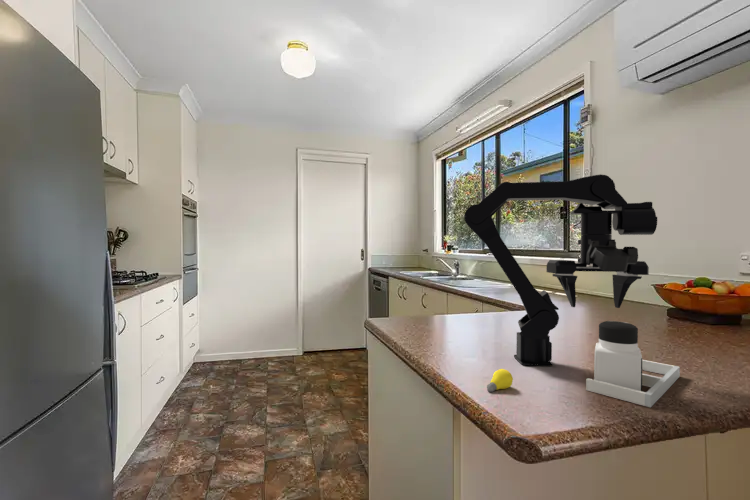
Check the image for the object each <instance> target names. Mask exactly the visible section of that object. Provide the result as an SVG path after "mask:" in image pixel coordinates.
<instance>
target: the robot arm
mask: <svg viewBox="0 0 750 500" xmlns="http://www.w3.org/2000/svg"><path fill="white" fill-rule="evenodd" d="M553 200H554V201H562V200H563V201H567V202H568V201H569V202H571V203H576V204H577V205H576V207H575V208H574V209H573V210H572V211H570V215H571V216H572V215H573V216H576V215H577V216H579V215H580V239H578V240H577V245H580V258H577V262H576V261H575V260H568V259H563V260H562V259H549V261H547V263H546V273H550V274H552V277H555V278H556V279H557V280H558V281H559V283H560V285H561V287H562V289H563V290H564V294H565V296H566V298H567V301H568V302H569V304H570V305H569V306H570V307H571V308H575V307H576V303H577V302H576V301H577V297H576V296H577V294H576V282H577V279H578V275H575V272H605V273H606V272H609V273H610V272H613V273H614V272H615V273H616V274H612V275H611V276H612V289H613V292H612V293H613V303H614V308H616V309H620V308H621V306H622V303H623V302H624V299H625V297H626V295H627V292H628V290H629V288H630V287H631V285H632V284H633V283H634V282H636V281H637V280H641V279H643V277H642V276H648V275H649V273H650V271H649V270H650V268H649V267H650V266H649V265H648V264H647V262H646V261H643V260H642V261H641V260H638V259H639V250H638V248H637V247H635V246H624V247H623V248H617V242H616V239H612V233H613V231H615V232H616V231H617V232H618V235H620V236H630V235H631V236H635V235H636V236H637V235H638V236H639V235H640V236H642V235H643V236H647V235H648V236H651V235H654V234H655V232H656V230H657V225H658V216H657V215H656V214H657V213H656V210H655V209H654V207H653V202H652V201H644V202H630V203H629V202H627V201H626V199H625V198H624V197H623V196H622V195H621V194H620V193H619V191H618V190H617V189H616V184H615V181H614V179H612V178H611V177H610V176H608V175H606V174H602V173H600V174H594V175H589V176H584V177H579V178H575V179H571V180H566V181H534V182H533V181H532V182H531V181H529V182H510V181H504V182H501V183H499V184H498V186H497V187H496V188H495V189H494V190H493V191H491V193H489V194H488V195H487V196H486V197H484V198H483V199H482V200H481V201H480V202H479V203H478V204H473V205H470V206H469V207H467V209H466V210H465V212H464V222H465V224H466V225H467V226H468V228H469V229H471V231H472V232H473V233H474V234H476V236H477V237H478V238H479V239H480V240H481V241H482V242H483V244H485V245H486V247H487V248H488V250H489V252H490V253H491V254H492V256H493V257H494V259H495V260H496V262H497V264H498V265H499V266H500V268H501V270H502V271H503V272H504V274H505V275H506V277H507V278H508V280H509V281H510V283H511V285H512V286H513V288H514V289H515V290H516V292H517V294H518V296H519V298H520V301H521V302H522V305H523V307H524V310H525V312H526V314H525V315H524V316H523V317H521V318H520V319H519V320H518V321H517V323H518V327H519V330H520V332H519V331H518V332H517V331H516V354H513V357H514V359H515V360H517V361H518V362H519V364H521V365H523V366H546V367H547V366H548V367H552V366H553V362H551V361H552V358H553V357H552V356H553V355H552V354H553V353H552V352H553V343H552V341H550V335H549V334H550V331H552V330H553V329H556V327H557V326H558V324H559V321H560V320H559V319H560V316H559V314H558V310H559V307H558V306H557V305H555V303H554V302H553V301H552V299H551V297H550V294H549V293H548V292H547V291H546V290H544V289H543V290H542V291H540V292H539V291H538V290H537V288H535V287H534V285H533V284H532V282H531V281H530V280H529V278H528V277H527V275H526V273H525V271H524V270H523V269H522V267H521V266H520V265H519V263H518V262H517V260H516V258H515V257H514V255H513V254H512V252H511V251H510V250H509V248H508V246H507V245H506V243H505V242H504V240H503V239H502V238H501V236H500V234H499V231H498V229H497V226H496V223H495V222H494V221H495V220H494V218H493V216H494V215H495V214H496V213H497V212H498V211H499V210H500V209H501V208H502V207H503V206H505V204H506V203H507V202H510V201H553ZM587 205H590V206H587ZM612 229H613V230H612Z"/></svg>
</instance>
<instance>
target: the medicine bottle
mask: <svg viewBox="0 0 750 500" xmlns="http://www.w3.org/2000/svg"><path fill="white" fill-rule="evenodd" d="M638 333H639V329H638V326H636V325H634V324H632V323H630V322H625V321H620V320H619V321H618V320H606V321H602V322H600V323H599V324H598V342H596V343H595V347H594V362H593V363H594V370H593V371H594V373H593V374H594V375H593V380H598V381H602V382H606V383H610V384H614V385H618V386H622V387H626V388H630V389H634V390H638V391H642V392H643V385H642V374H643V370H642V360H643V356H642V352H641V351H642V350H641V348H639V346H638V343H639V341H638V340H639V338H638V336H639V334H638Z"/></svg>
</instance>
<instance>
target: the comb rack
mask: <svg viewBox="0 0 750 500" xmlns="http://www.w3.org/2000/svg"><path fill="white" fill-rule="evenodd" d="M680 369H681V368H680V366H678V365H672V364H667V363H661V362H656V361H651V360H646V359H642V371H645V372H651V373H654V374H655V373H656V374H660V375H663V376H662V377H661V376H657V375H656V376H655V375H651V374H647V373H642V387H643V386H644V387H647V388H649V389H648V390H647V391H643V390H642V391H638V390H634V389H630V388H626V387H622V386H618V385H614V384H610V383H606V382H602V381H598V380H594V378H589V377H588V378H586V380H585V391H588V392H592V393H595V394H599V395H603V396H607V397H610V398H615V399H617V400H622V401H625V402H629V403H632V404H636V405H640V406H644V407H647V408H652V407H653V406H654V405H655V404H656V402H658V400H659V399H660V398H661V397H662V396H663V395H664V394H665V393H666V392H667V391H668V390H669V389H670V387H671V386H672V385H673V384H674V383H675V382H676V381H677V380H678V379H679V378H680V374H681V373H680V371H681V370H680Z"/></svg>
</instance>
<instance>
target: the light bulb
mask: <svg viewBox="0 0 750 500" xmlns="http://www.w3.org/2000/svg"><path fill="white" fill-rule="evenodd" d="M513 382H514V377H513V375H512V373H511V372H510V371H509V370H507V369H505V368H499V369H497V370H496V371H494V373H493V375H492V378H491V380H490V383H488V384H487V385H486V390H487V391H488V392H490V393H492V392H494V391H498V390H505V389H508V388H510V387H511V386H512V385H513Z"/></svg>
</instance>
